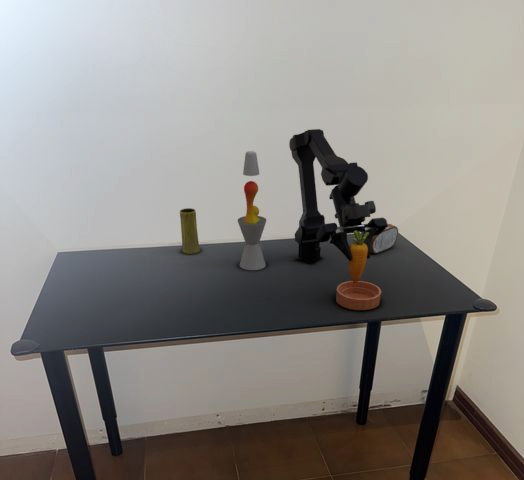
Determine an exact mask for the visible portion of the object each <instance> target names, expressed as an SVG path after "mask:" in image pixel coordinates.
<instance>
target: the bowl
mask: <svg viewBox="0 0 524 480" xmlns="http://www.w3.org/2000/svg"><path fill="white" fill-rule="evenodd" d="M335 289H336V290H335V301H336V303H337V304H338V305H339V306H341V307H343V308H345V309H349V310H354V311H369V310H372V309H376V308H377V307H378V306H379V305H380V303H381V299H382V298H381V297H382V289H381V288H380V286H378V285H376V284H374V283H372V282H369V281H362V280H358V281H357V282H356V283H354V282H353V280H349V281H348V280H347V281H344V282H341V283H339V284H338V285H337V287H336V288H335Z"/></svg>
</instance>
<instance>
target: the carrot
mask: <svg viewBox="0 0 524 480" xmlns="http://www.w3.org/2000/svg"><path fill="white" fill-rule="evenodd" d="M368 234H369V232H366V233H365V235H364V237H363V238H362V240H361V237H362V234H361V232H359V231H358V232H357V231H354V233H353V235H354V238H353V241H354V242H352V243H351V244H349V248H350V251H351V255H352V260H351V261H349V260H348V270H349V276H350V278H351V281H353V282H354V283H356V282H357V281H360V279H361V277H362V275H363V273H364V270H365V268H366V264H367V260H368V259H367V253H368V247H367V245H366V244H365V243H363V242H364V240H365V239H366V237H367V236H368Z"/></svg>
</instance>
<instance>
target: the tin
mask: <svg viewBox="0 0 524 480" xmlns="http://www.w3.org/2000/svg"><path fill="white" fill-rule="evenodd" d="M387 224H388V227H387V228H386V229H385V230H384V231H383V232H382V233H381V234H380V235H377V236H373V237H372V242H371V254H375V255H376V254H380V253H382V252H384V251H387V250H389V249H391V248H392V247H393V246H394V245H395V244H396V242H397V239H398V235H399V227H397V226H396V225H393V224H392V223H387Z"/></svg>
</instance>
